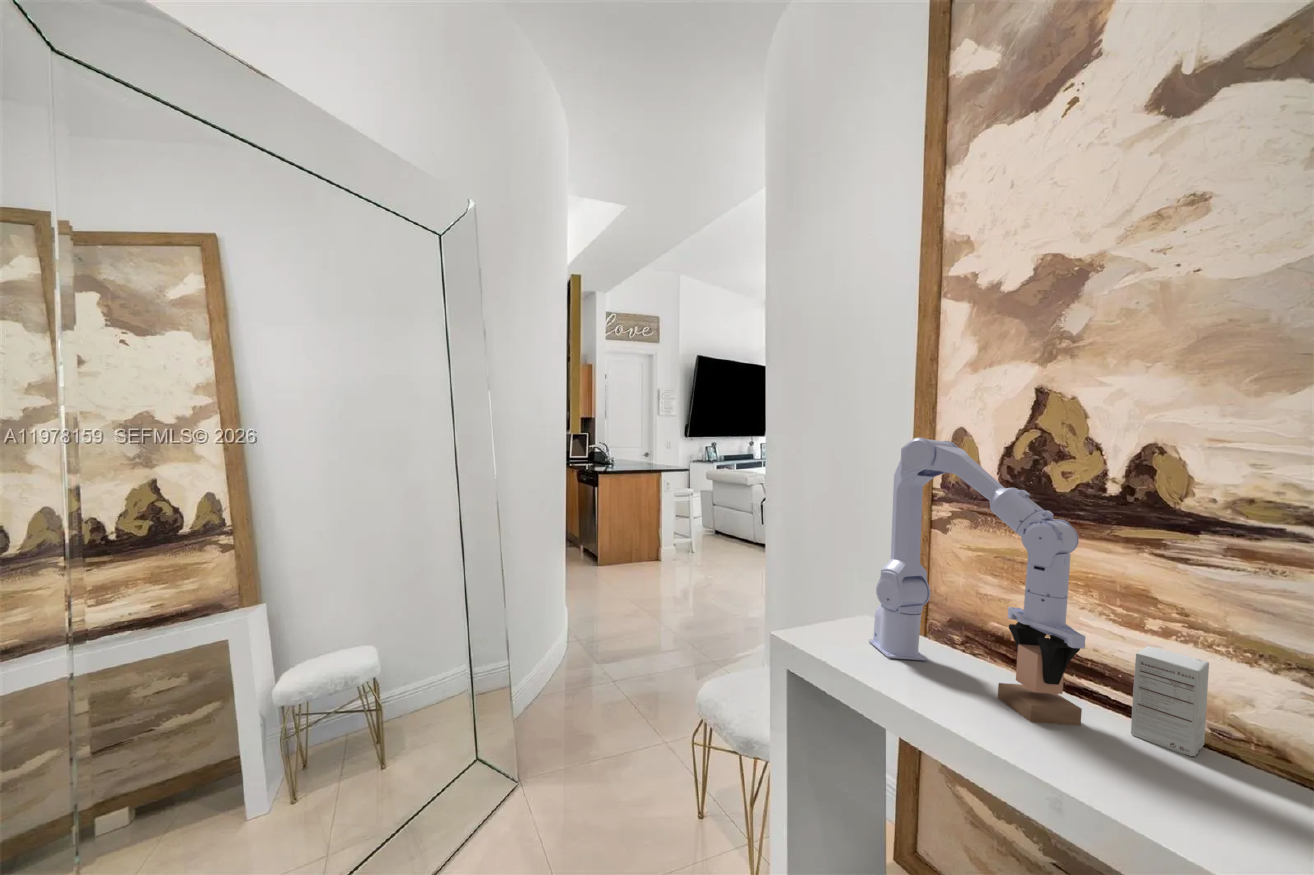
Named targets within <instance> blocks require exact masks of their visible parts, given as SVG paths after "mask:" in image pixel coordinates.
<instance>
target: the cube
mask: <svg viewBox="0 0 1314 875" xmlns="http://www.w3.org/2000/svg"><path fill="white" fill-rule="evenodd" d="M1016 654H1017V657H1016V673H1015V681H1016V682H1018V683H1019V684H1021V685H1024V686H1026V687H1027V688H1029V689H1031V690H1032V691H1034V692H1037V693H1053V694H1058V695H1063V691H1064V679H1065V678H1064V677H1065V676H1064V675H1065V672H1064V673H1063V676H1062V678H1061V681H1060V683H1059V685H1054V684H1046V683H1045V682H1044V680H1043V661H1042V654H1041V649H1040V646H1036V645H1021V644H1018V649H1017V653H1016Z"/></svg>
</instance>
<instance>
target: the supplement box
mask: <svg viewBox="0 0 1314 875" xmlns="http://www.w3.org/2000/svg"><path fill="white" fill-rule="evenodd" d="M1209 668H1210V662H1208V661H1206V660H1203V659H1200V658H1197V657H1192V656H1188V655H1184V654H1180V653H1176V652H1172V651H1168V650H1164V649H1161V648H1157V647H1153V646H1146V647H1144V648H1143V649H1141V650H1140V651H1137V652H1136V653H1135V663H1134V676H1133V678H1134V679H1133V690H1132V704H1131V705H1132V706H1131V720H1130V721H1131V724H1130V725H1131V726H1130V735H1132V736H1133V737H1136V738H1138V739H1141V740H1144V741H1146V742H1150V743H1151V744H1155V745H1157V746H1160V747H1163V748H1166V749H1168V750H1172V751H1174V752H1176V753H1180V754H1182V755H1185V754H1188V755H1191V756H1195V755H1196V754H1197V753H1198V754H1199V752H1200V751H1199V749H1200V750H1202V748H1203V746H1204V745H1205V738H1206V737H1205V736H1206V735H1205V734H1206V718H1207V703H1208V688H1209V686H1208V685H1209V673H1210V672H1209ZM1198 751H1199V752H1198ZM1198 754H1197V755H1198ZM1197 755H1196V756H1197ZM1196 756H1195V757H1196Z"/></svg>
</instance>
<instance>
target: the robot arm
mask: <svg viewBox="0 0 1314 875" xmlns="http://www.w3.org/2000/svg"><path fill="white" fill-rule="evenodd" d="M947 473H948V474H953V475H955V476H956V477H958V478H959V479H960V480H962V481H963V482H964V483H965V484H967V485H968V486H969V487H971V488H972V489H974V490H975V491H976V492H978V493H979V494H980V495H981V496H983V497H984V498H986V499H987V500H988V501H989V509H990V511H991V513H993V514H994V515H995V516H996V517H997V518H999V520H1000V521H1002V522H1003V523H1004V524H1005V525H1007V526H1008V528H1010V529H1011V530H1012V531H1013V532H1015V533H1016V534H1017V535H1018V536H1019V537H1020V539H1021V543H1022V546H1023V547H1024V549H1025V550H1026V551H1027V562H1026V576H1025V588H1024V599H1023V600H1024V601H1023V602H1024V603H1023V609H1022V608H1020V607H1015V606H1014V607H1012V606H1008V608H1007V618H1008V619H1010V620H1013V621H1016V623H1014V624H1012V623H1011V624H1008V629H1009V631H1010V633H1011V635H1012V637H1013V640H1014V642H1015V643H1014V644H1015V646H1016V649H1017V650H1018V644H1021V645H1036V646H1040V649H1041V654H1042V661H1043V680H1044V682H1045V683H1046V684H1054V685H1059V683H1060V681H1061V678H1062V676H1063V673H1064V674H1065V671H1066V668H1067V666H1068V665H1069V664H1070V662H1071V661H1072V659H1073V658H1074V657H1075V656H1076V655H1077V653H1078V652H1080V650H1081V649H1083V650H1084V649H1085V648H1086V638H1087V637H1086V635H1083V633H1080V632H1077V630H1075V628H1072V627H1071V626H1070V625H1068V624H1066V623H1067V613H1068V612H1067V609H1068V597H1069V584H1070V571H1071V570H1070V566H1071V553H1074V551H1075V550H1076V548H1078V545H1079V540H1080V538H1079V535H1078V533H1077V530H1076V529H1075V528H1074V527H1073V526H1072V525H1071V523H1070V522H1069V521H1067V520H1065V519H1055V518H1054V513H1053V512H1051V510H1045V509H1044V508H1042V507H1041V506H1040V505H1038V504H1037V503H1036V502H1034V501H1033V500H1032V499H1031V498H1029V497H1030V496H1031V494H1030V493H1029V492H1028V491H1026V490H1025V489H1018V488H1016V487H1008V488H1007V487H1005V486H1003V485H1002V484H1001V483H1000V482H999V481H998V480H997V479H995V478H994V477H993V476H992V475H991V474H990V473H989V472H988V471H986V470H985V469H984V468H983V467H982V466H981V465H980V464H979V463H977V462H976V461H975V460H974V459H973V458H972V457H970V455H969V454H968V452H967V451H965V450H964V449H962V448H961V447H959V446H957V445H956V444H955V443H954V442H952V441H948V440H936V439H928V438H925V437H915V438H912V439H910V441H909V442H907V443H906V444H905V445H903V446H902V447H901V449H900V460H899V463H898V465H897V467H896V469H895V471H894V475H893V486H892V487H893V491H892V514H891V515H892V516H891V543H890V545H891V546H890V560H889V561H888V562H887V563H886V564H885V565H883V567H882V568H881V570H880V576H879V577H880V578H879V580H878V582H877V584H876V588H875V594H876V597H877V600H878V601H879V603H880V605H879V606H878V607H877V609H876V610H875V614H874V625H873V635H872V637H873V638H871V639H868V642H869V643H870V644H871V645H873V646H874V647H875V648H876V649H877V650H878V651H879V652H881V653H882V654H883V655H884V656H886V658H889V659H898V660H911V661H912V660H913V661H928V658H927V657H926V656H925V655H923V654H922V653H921V652H920V651H919V647H920V633H921V619H922V618H921V617H922V611H923V610H924V606H925V605H927V604H928V603H929V601H930V598H931V594H932V593H931V587H930V585H929V583H928V582H929V581H928V572H927V570H926V569H925V568H924V566H923V565H922V564H921V544H922V543H921V540H922V516H923V515H922V514H923V490H924V489H923V488H924V486H925V485H926V484H927V483H929V482H930V481H931V480H933V479H934V478H936V477H938V476H941V475H944V474H947ZM1047 636H1049V637H1047Z"/></svg>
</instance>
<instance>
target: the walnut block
mask: <svg viewBox="0 0 1314 875" xmlns="http://www.w3.org/2000/svg"><path fill="white" fill-rule="evenodd" d="M997 686H998V687H997V699H998V700H999V701H1000V702H1002V703H1004V704H1005V705H1006V706H1007V707H1009V708H1010V709H1011V710H1013V711H1014V712H1015V713H1017V714H1019V715H1020V716H1022V717H1023V718H1024V719H1026V720H1027V721H1028V722H1030V723H1040V724H1054V725H1056V724H1057V725H1069V726H1081V725H1082V724H1081V723H1082V713H1083V712H1082V710H1083V709H1082V707H1080V706H1078V705H1077V704H1074V703H1073V702H1071V701H1070V700H1069V699H1066V698H1065V697H1063V696H1062V695H1061V694H1053V693H1037V692H1034V691H1032V690H1031V689H1029V688H1027V687H1026V686H1024V685H1023V684H1021V683H1019V684H1018V683H1006V682H998V685H997Z"/></svg>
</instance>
